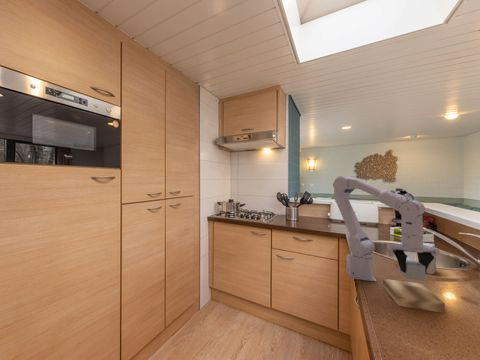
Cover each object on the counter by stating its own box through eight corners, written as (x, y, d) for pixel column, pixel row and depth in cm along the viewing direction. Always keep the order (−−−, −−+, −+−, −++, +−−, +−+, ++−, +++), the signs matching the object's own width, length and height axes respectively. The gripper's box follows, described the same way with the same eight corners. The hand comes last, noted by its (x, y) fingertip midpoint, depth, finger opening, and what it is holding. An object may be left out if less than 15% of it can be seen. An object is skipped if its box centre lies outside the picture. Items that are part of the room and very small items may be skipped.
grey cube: (407, 278, 66) (407, 264, 66) (400, 272, 71) (400, 259, 71) (425, 281, 65) (425, 266, 65) (416, 274, 70) (416, 260, 70)
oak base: (398, 305, 63) (398, 296, 63) (382, 286, 74) (382, 278, 74) (444, 313, 59) (444, 303, 59) (421, 291, 70) (420, 283, 70)
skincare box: (433, 274, 83) (432, 247, 83) (419, 270, 87) (418, 244, 87) (436, 271, 86) (436, 244, 87) (423, 267, 90) (423, 241, 90)
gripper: (393, 235, 66) (393, 274, 66) (445, 239, 62) (446, 280, 62) (384, 230, 73) (384, 266, 73) (431, 233, 69) (431, 270, 69)
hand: (412, 272), depth 68 cm, fingers closed on grey cube, 5 cm apart
